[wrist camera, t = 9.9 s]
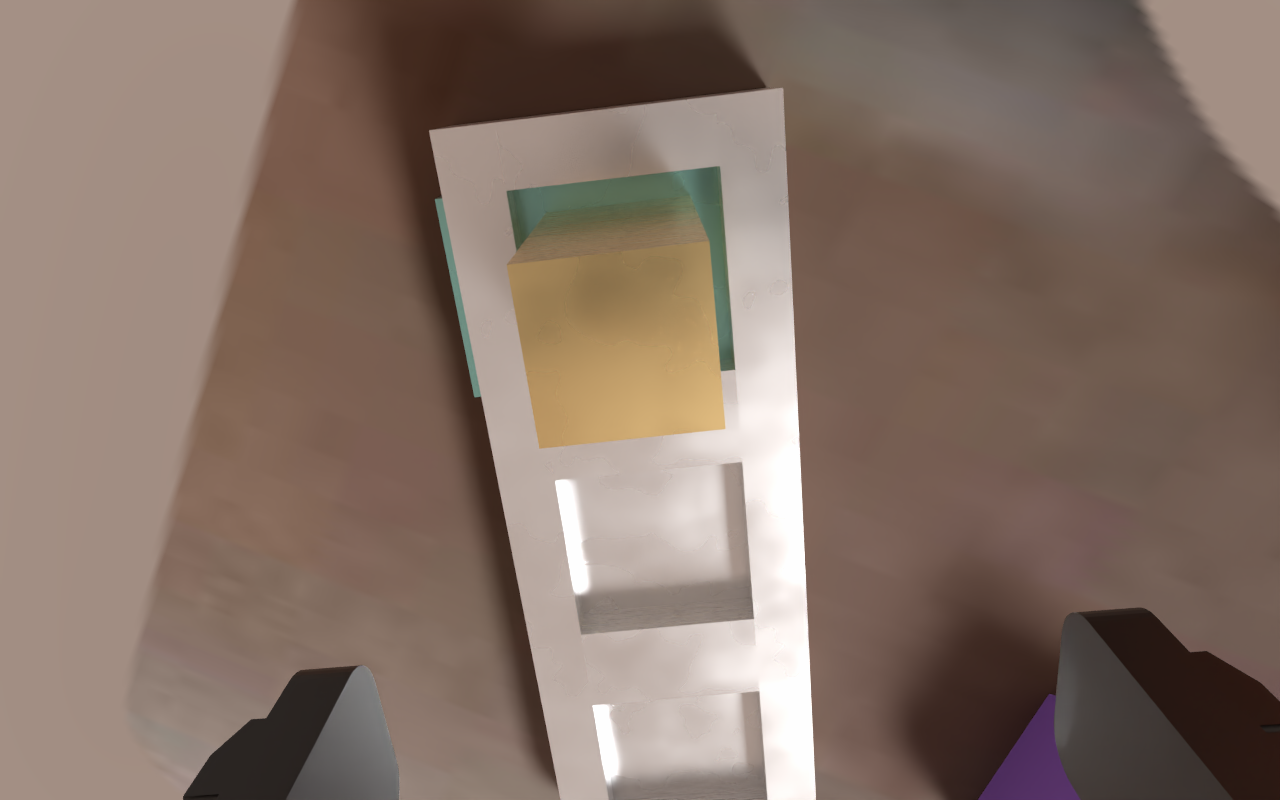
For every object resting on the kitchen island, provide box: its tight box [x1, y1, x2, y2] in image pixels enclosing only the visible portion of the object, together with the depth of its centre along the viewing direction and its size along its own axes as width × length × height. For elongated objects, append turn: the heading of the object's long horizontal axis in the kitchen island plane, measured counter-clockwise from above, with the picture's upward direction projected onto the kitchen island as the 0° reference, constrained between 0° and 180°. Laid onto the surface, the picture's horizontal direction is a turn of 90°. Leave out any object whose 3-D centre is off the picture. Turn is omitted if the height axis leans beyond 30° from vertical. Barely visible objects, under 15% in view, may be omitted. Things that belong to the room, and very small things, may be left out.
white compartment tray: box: [429, 88, 816, 800], centre depth 26 cm, size 9×26×3 cm, turn 6°
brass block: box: [507, 195, 726, 449], centre depth 20 cm, size 4×4×7 cm
